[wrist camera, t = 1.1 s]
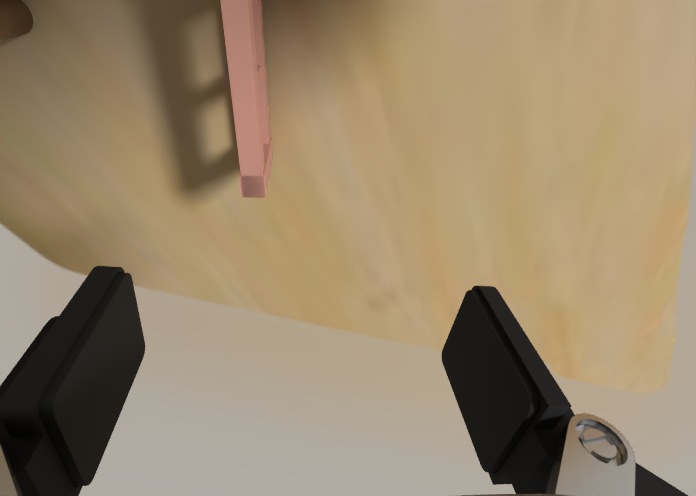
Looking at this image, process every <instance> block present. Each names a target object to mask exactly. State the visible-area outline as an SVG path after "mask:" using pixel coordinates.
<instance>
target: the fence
mask: <svg viewBox="0 0 696 496" xmlns="http://www.w3.org/2000/svg"><path fill="white" fill-rule="evenodd" d="M32 26H33V18H32V15H31V13H30V11H29V9H28V7H27V6H26V5H25V4H24V3H23V2H22V1H21V0H0V40H1V39H5V38H9V37H13V36H17V35H21V34H25V33H28V32H29V31H30V30H31V28H32Z"/></svg>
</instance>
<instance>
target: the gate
mask: <svg viewBox="0 0 696 496" xmlns="http://www.w3.org/2000/svg"><path fill="white" fill-rule="evenodd" d="M220 2H221V11H222V19H223V28H224V36H225V45H226V53H227V62H228V70H229V79H230V87H231V96H232V104H233V113H234V121H235V130H236V139H237V147H238V156H239V164H240V175H239V177H240V186H241V194H242V197H266V192H267V186H268V181H269V175H270V169H271V164H272V158H273V151H272V138H270V124H269V109H268V93H267V78H266V63H265V47H264V32H263V17H262V1H261V0H220Z"/></svg>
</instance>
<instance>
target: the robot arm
mask: <svg viewBox="0 0 696 496" xmlns="http://www.w3.org/2000/svg"><path fill="white" fill-rule="evenodd" d="M144 353H145V342H144V337H143V332H142V327H141V322H140V317H139V312H138V307H137V302H136V297H135V292H134V287H133V281H132V277H131V275H130V274H129V273H124V270H123V268H121V267H108V266H96V267H94V268H93V270H92V271H91V272H90V274H89V275H88V277H87V278H86V279H85V281H84V282H83V284H82V285H81V286H80V288H79V289H78V291H77V292H76V293H75V295H74V296H73V298H72V299H71V300H70V302H69V303H68V305H67V306H66V308H65V309H64V310H63V312H62V313H61V314H60V316H56V317H54V318H51V319H50V320H49V321H48V322H47V323H46V325H45V326H44V327H43V329H42V330H41V331H40V333H39V334H38V336H37V337H36V338H35V340H34V341H33V342H32V344H31V345H30V346H29V348H28V349H27V350H26V352H25V353H24V355H23V356H22V357H21V359H20V360H19V361H18V363H17V364H16V365H15V367H14V368H13V370H12V371H11V372H10V374H9V375H8V376H7V378H6V379H5V380H4V382H3V383H2V385H1V386H0V496H78V495H79V493H80V490H81V488H82V486H87V485H89V484H90V483H91V481H92V480H93V478H94V476H95V473H96V471H97V468H98V466H99V464H100V461H101V459H102V456H103V454H104V451H105V449H106V447H107V444H108V441H109V439H110V437H111V434H112V432H113V430H114V427H115V425H116V422H117V420H118V418H119V415H120V413H121V410H122V408H123V405H124V403H125V400H126V398H127V396H128V393H129V391H130V388H131V386H132V383H133V381H134V378H135V376H136V374H137V371H138V369H139V367H140V364H141V362H142V359H143V356H144ZM442 362H443V365H444V368H445V370H446V373H447V376H448V378H449V381H450V384H451V386H452V389H453V392H454V395H455V397H456V400H457V402H458V405H459V408H460V411H461V413H462V416H463V418H464V421H465V424H466V427H467V429H468V432H469V435H470V437H471V440H472V443H473V445H474V448H475V451H476V453H477V456H478V459H479V461H480V464H481V466H482V468H483V470H484V471H485V472H488V473H489V475H490V478H491V480H492V482H493V484H494V485H495V484H512V485H513V488H514V490H515V492H516V494H501V495H500V494H498V495H497V494H496V495H462V496H688V495H686V494H685V493H683V492H681V491H680V490H678V489H677V488H675V487H673V486H672V485H670V484H669V483H667V482H666V481H664V480H662V479H661V478H659V477H658V476H656V475H654V474H653V473H651V472H650V471H648V470H646V469H645V468H643V467H642V466H640V465H639V464H637V463H635V456H634V451H633V449H632V447H631V445H630V443H629V442H628V441H627V440H626V438H625V437H624V436H623V434H622V433H621V432H620V431H619V430H617V429H616V428H615V427H614V426H613V425H611V424H610V423H608V422H607V421H605V420H604V419H602V418H599V417H597V416H595V415H591V414H586V413H583V414H576V415H574V413H573V411H572V410H571V408H570V407H571V405H570V403H569V402H568V400H567V398H566V397H565V395H564V394H563V392H562V391H561V389H560V388H559V386H558V384H557V383H556V381H555V380H554V378H553V376H552V375H551V373H550V372H549V370H548V369H547V367H546V365H545V364H544V362H543V361H542V359H541V358H540V356H539V354H538V353H537V351H536V350H535V348H534V347H533V345H532V343H531V342H530V340H529V339H528V337H527V336H526V334H525V332H524V331H523V329H522V328H521V326H520V325H519V323H518V322H517V320H516V318H515V317H514V315H513V314H512V312H511V311H510V309H509V307H508V306H507V304H506V303H505V301H504V300H503V298H502V296H501V295H500V293H499V292H498V290H497V289H496V288H495V287H490V286H474V287H473V288H472V290H469V291H467V292H466V294H465V297H464V299H463V302H462V304H461V306H460V309H459V311H458V314H457V316H456V319H455V321H454V323H453V326H452V328H451V331H450V333H449V336H448V338H447V340H446V343H445V345H444V348H443V350H442Z"/></svg>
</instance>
